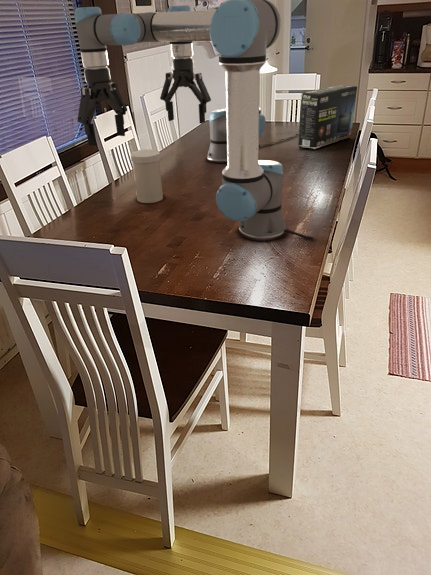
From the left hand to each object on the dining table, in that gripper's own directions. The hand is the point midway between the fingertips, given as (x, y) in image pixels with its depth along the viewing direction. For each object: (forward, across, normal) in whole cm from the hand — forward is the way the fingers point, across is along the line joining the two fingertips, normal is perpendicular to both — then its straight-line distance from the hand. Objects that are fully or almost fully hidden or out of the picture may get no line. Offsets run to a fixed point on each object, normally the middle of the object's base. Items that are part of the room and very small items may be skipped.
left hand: (186, 121), depth 170 cm
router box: (+28, +25, +96) cm, 103 cm away
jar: (+28, -12, -12) cm, 32 cm away
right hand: (0, -8, -35) cm, 36 cm away
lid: (+10, -12, -11) cm, 20 cm away
